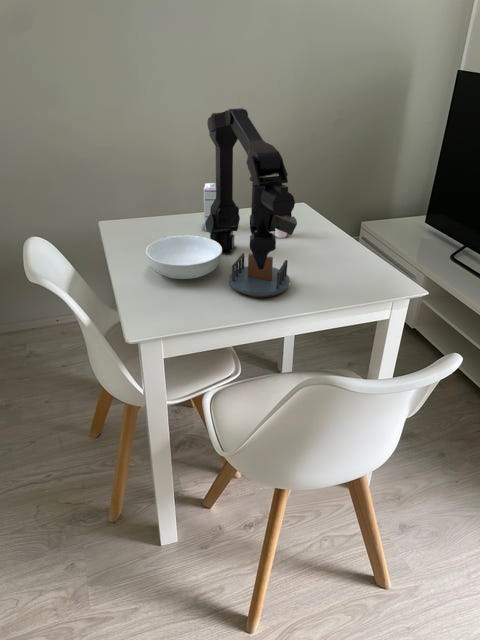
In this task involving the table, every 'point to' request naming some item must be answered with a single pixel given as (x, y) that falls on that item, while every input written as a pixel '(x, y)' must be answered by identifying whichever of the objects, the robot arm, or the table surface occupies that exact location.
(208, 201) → the syrup box
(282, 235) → the smoothie
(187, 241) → the serving bowl
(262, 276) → the drying rack
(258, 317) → the table surface
